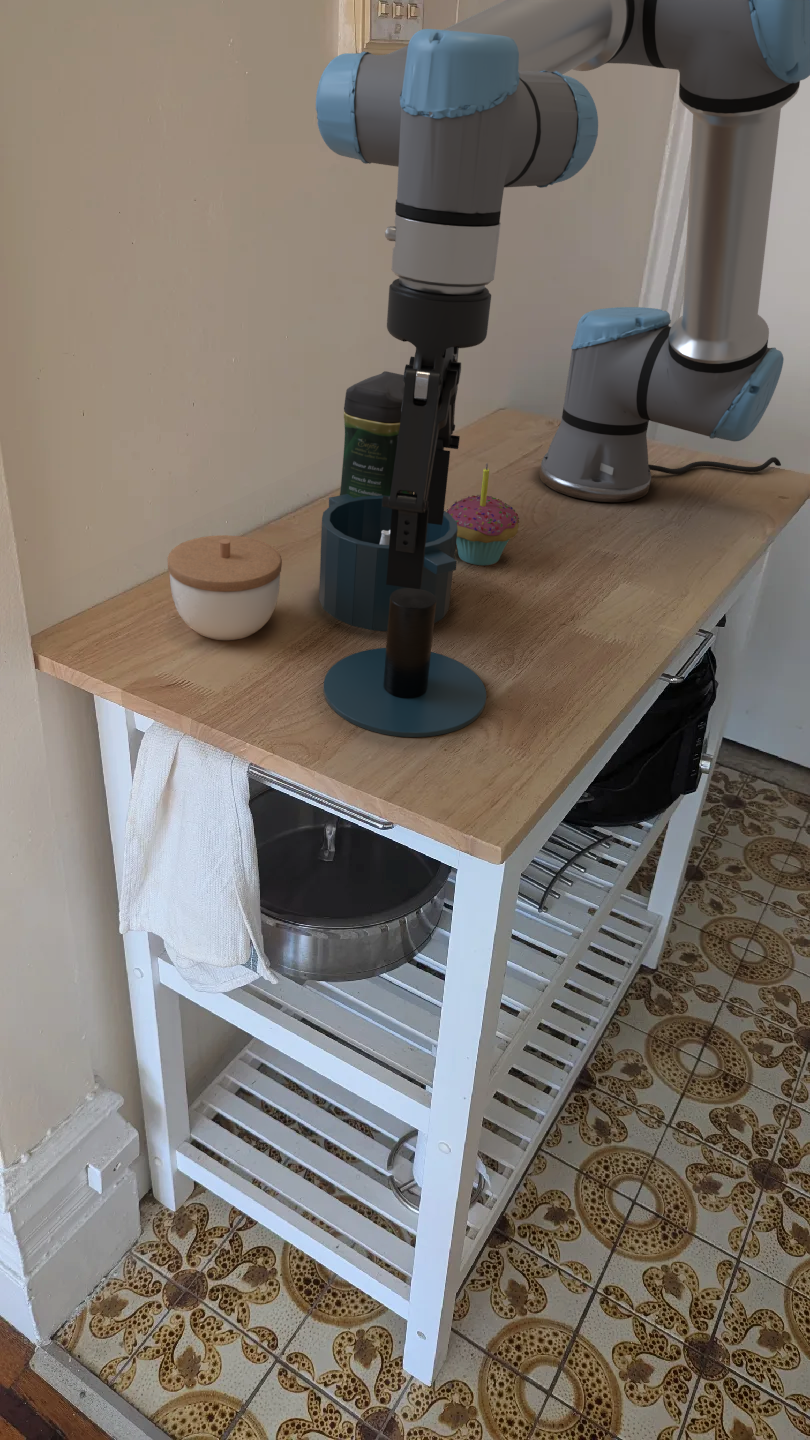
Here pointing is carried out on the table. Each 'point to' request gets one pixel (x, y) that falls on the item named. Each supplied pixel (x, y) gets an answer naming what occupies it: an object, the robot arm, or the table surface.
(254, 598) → the trinket box
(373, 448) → the coffee jar
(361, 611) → the pot
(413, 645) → the lid
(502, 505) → the cupcake
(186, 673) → the table surface
